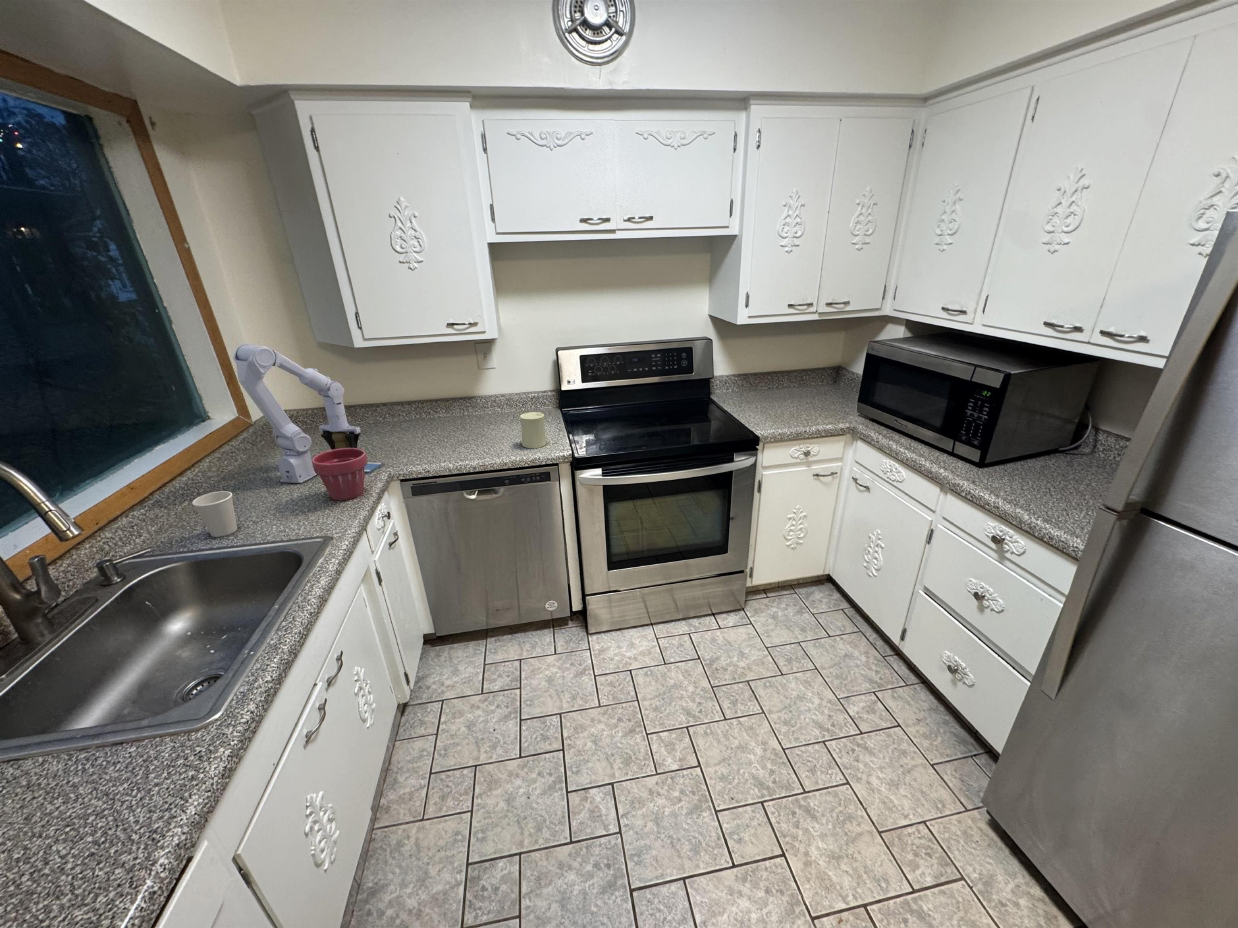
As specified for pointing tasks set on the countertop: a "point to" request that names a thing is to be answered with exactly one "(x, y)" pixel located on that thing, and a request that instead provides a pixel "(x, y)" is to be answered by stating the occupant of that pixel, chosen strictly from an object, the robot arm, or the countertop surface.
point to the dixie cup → (217, 512)
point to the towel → (371, 466)
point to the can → (533, 430)
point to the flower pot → (341, 472)
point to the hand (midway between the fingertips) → (344, 451)
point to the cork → (340, 440)
